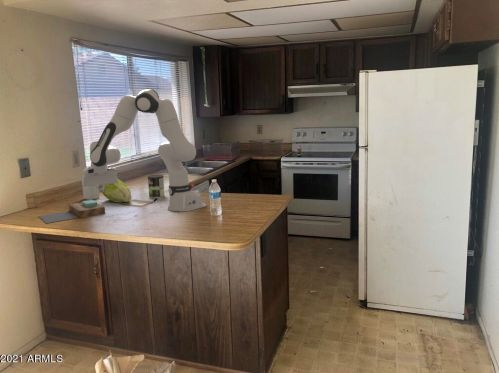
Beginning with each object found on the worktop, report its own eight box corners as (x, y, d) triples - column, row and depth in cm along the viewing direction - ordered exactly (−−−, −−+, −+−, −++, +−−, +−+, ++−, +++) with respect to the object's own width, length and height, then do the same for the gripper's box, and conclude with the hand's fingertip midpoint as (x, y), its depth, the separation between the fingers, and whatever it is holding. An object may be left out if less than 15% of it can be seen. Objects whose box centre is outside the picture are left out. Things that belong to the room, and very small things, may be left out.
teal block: (92, 203, 252) (92, 199, 252) (97, 205, 245) (97, 202, 245) (82, 204, 249) (82, 201, 249) (86, 207, 242) (86, 203, 242)
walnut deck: (93, 207, 260) (92, 200, 259) (105, 213, 242) (104, 206, 241) (69, 211, 251) (68, 204, 251) (80, 218, 234) (79, 211, 233)
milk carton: (90, 200, 280) (87, 171, 276) (83, 199, 284) (80, 171, 280) (99, 197, 286) (96, 170, 282) (92, 196, 290) (90, 169, 286)
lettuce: (139, 208, 274) (116, 215, 264) (121, 190, 289) (99, 197, 279) (138, 188, 266) (114, 196, 257) (120, 172, 281) (97, 178, 272)
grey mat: (68, 211, 250) (68, 211, 250) (77, 218, 234) (77, 217, 234) (38, 216, 241) (38, 216, 241) (46, 223, 225) (46, 223, 225)
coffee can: (153, 199, 277) (151, 177, 274) (146, 196, 285) (145, 176, 282) (167, 196, 283) (166, 175, 280) (160, 194, 291) (159, 174, 288)
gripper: (114, 166, 256) (116, 189, 258) (79, 170, 243) (81, 193, 246) (118, 167, 251) (120, 190, 253) (83, 171, 238) (85, 195, 241)
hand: (101, 192), depth 249 cm, fingers closed
